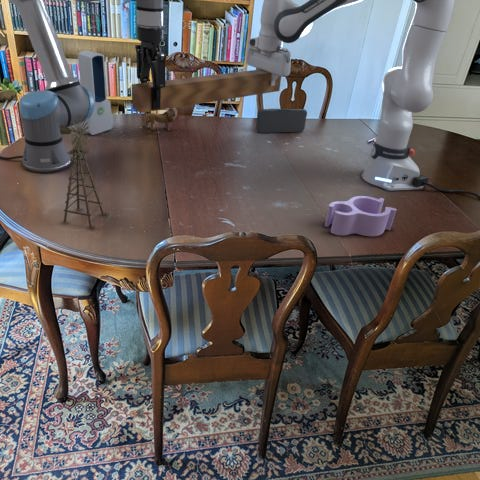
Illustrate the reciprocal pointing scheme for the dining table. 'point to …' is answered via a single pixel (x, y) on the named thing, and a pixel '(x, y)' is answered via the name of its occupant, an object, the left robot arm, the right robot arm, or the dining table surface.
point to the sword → (371, 140)
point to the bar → (204, 89)
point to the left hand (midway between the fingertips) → (151, 106)
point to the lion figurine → (162, 118)
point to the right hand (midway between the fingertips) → (265, 83)
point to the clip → (359, 216)
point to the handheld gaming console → (281, 120)
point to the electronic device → (95, 91)
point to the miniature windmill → (78, 148)
